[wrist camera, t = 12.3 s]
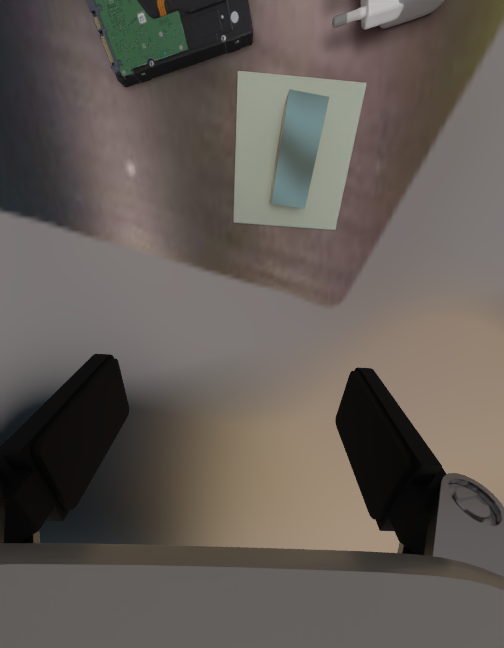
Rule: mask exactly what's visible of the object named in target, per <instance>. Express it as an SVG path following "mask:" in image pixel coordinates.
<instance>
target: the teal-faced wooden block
mask: <svg viewBox="0 0 504 648" xmlns="http://www.w3.org/2000/svg"><path fill="white" fill-rule="evenodd" d="M328 101H329V97H327V96H322V95H317V94H312V93H307V92H301V91H296V90H291V89H289V92H288V95H287V98H286V101H285V104H284V109H283V116H282V122H281V129H280V135H279V142H278V148H277V154H276V161H275V167H274V174H273V180H272V186H271V193H270V199H269V203H271V204H277V205H283V206H290V207H296V208H302V209H305V206H306V201H307V197H308V192H309V188H310V183H311V179H312V174H313V170H314V165H315V161H316V156H317V151H318V147H319V142H320V138H321V133H322V129H323V124H324V120H325V115H326V111H327V106H328Z"/></svg>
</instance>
